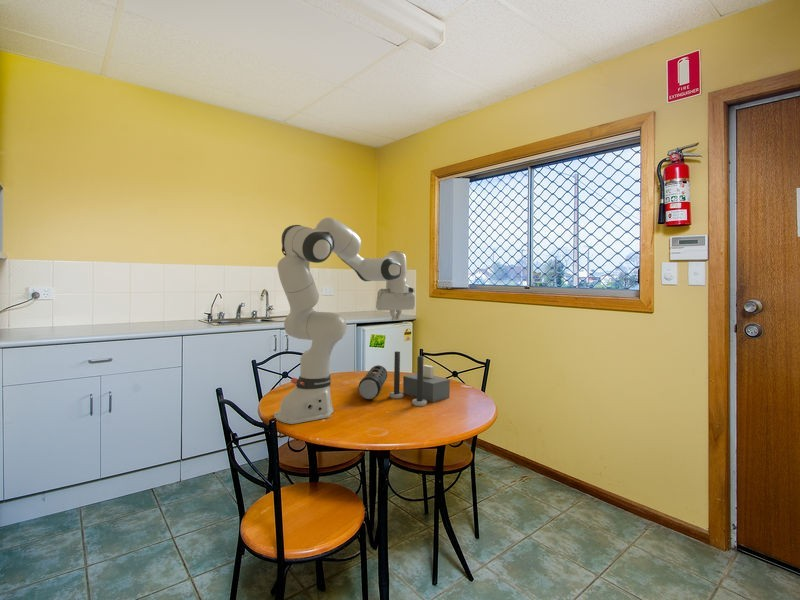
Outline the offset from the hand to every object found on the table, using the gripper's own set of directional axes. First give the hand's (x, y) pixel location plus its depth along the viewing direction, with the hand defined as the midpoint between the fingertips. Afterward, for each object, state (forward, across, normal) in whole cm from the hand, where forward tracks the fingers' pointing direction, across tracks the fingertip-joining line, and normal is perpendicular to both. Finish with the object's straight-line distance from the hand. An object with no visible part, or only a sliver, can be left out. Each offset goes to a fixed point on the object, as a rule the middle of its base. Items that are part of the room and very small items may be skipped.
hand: (395, 320), depth 183 cm
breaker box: (+34, +12, -8) cm, 37 cm away
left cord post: (+34, +1, -1) cm, 34 cm away
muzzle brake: (+34, -4, +10) cm, 36 cm away
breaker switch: (+25, +13, -8) cm, 30 cm away
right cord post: (+34, +1, -15) cm, 37 cm away
